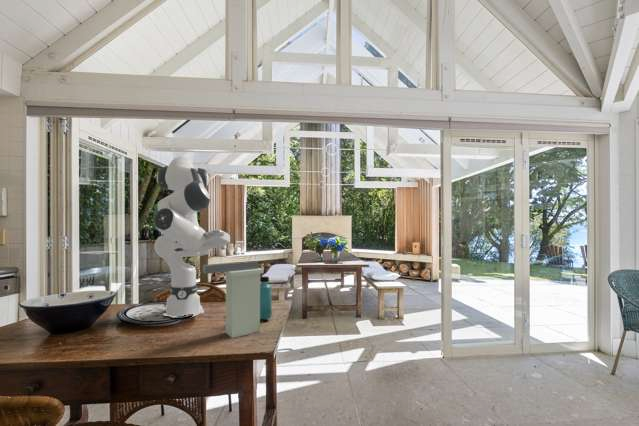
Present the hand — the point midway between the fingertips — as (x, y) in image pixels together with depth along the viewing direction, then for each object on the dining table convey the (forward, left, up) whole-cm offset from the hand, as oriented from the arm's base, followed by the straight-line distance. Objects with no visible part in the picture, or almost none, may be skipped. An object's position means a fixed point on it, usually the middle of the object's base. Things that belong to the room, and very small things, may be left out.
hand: (214, 250), depth 128 cm
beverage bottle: (-17, +22, -35) cm, 44 cm away
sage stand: (-3, +11, -34) cm, 36 cm away
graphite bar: (-2, +7, -8) cm, 11 cm away
